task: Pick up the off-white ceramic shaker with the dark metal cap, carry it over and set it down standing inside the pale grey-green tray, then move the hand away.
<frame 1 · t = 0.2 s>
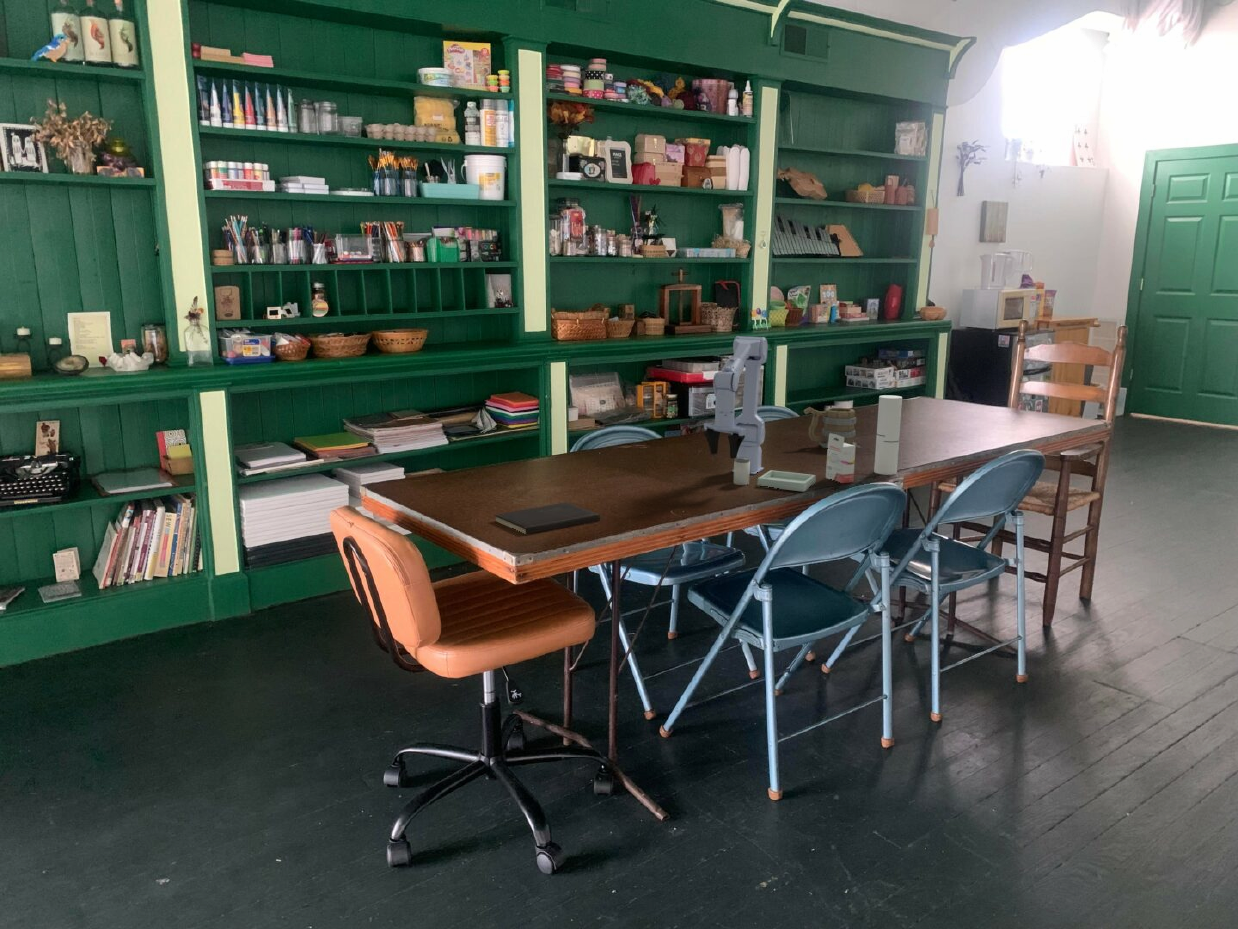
hand: (723, 455, 283), 10 cm above the table, tool pointing down, fingers open, 7 cm apart
ink cartridge box: (839, 480, 296), on the table
tankard: (828, 447, 349), on the table
cylindrical container: (885, 472, 307), on the table
hardcover book: (547, 523, 248), on the table
shaker: (741, 483, 291), on the table
tray: (786, 484, 290), on the table
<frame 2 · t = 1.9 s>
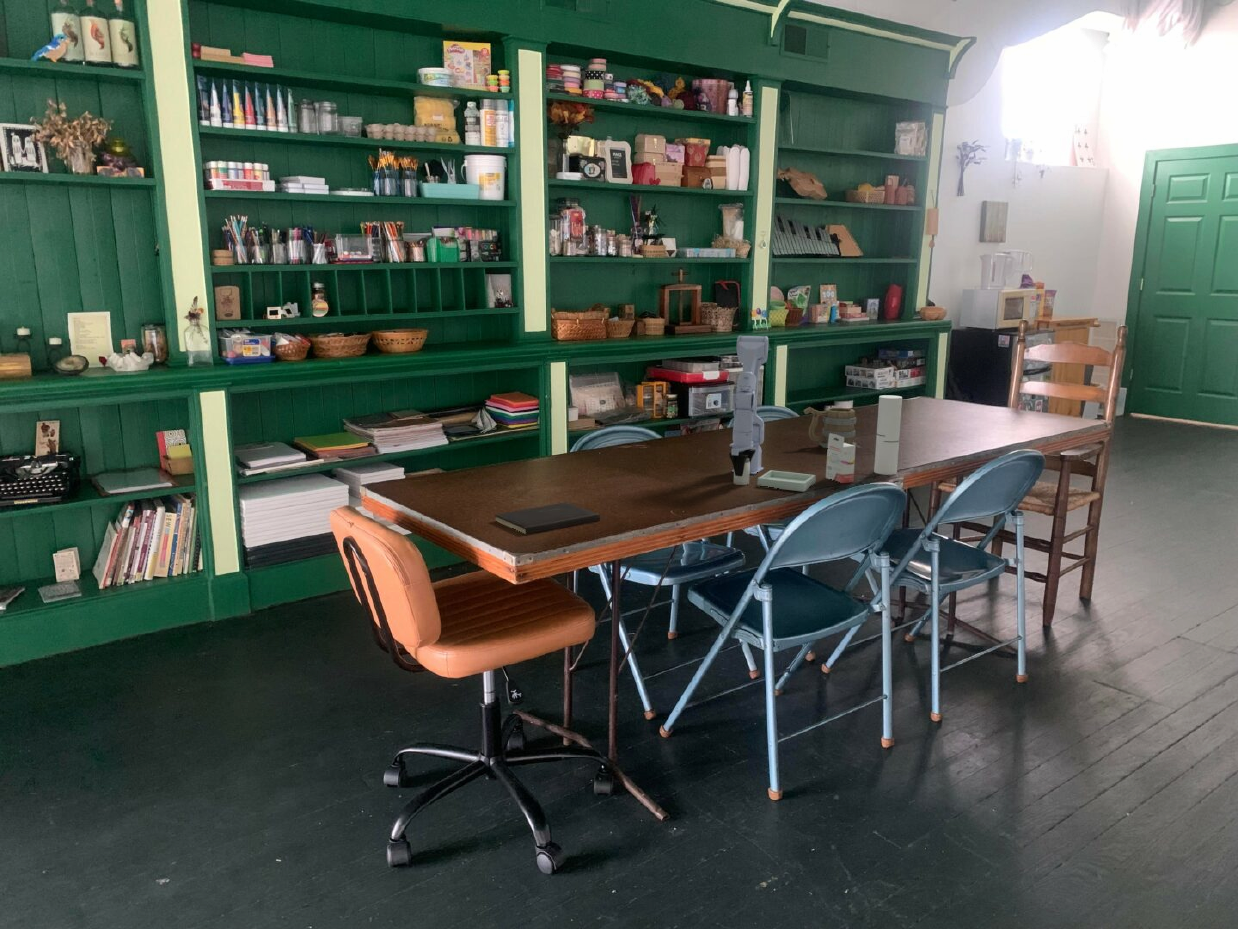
hand: (741, 474, 290), 3 cm above the table, tool pointing down, fingers closed on shaker, 5 cm apart
shaker: (741, 483, 291), on the table, touching gripper
everything else where it was.
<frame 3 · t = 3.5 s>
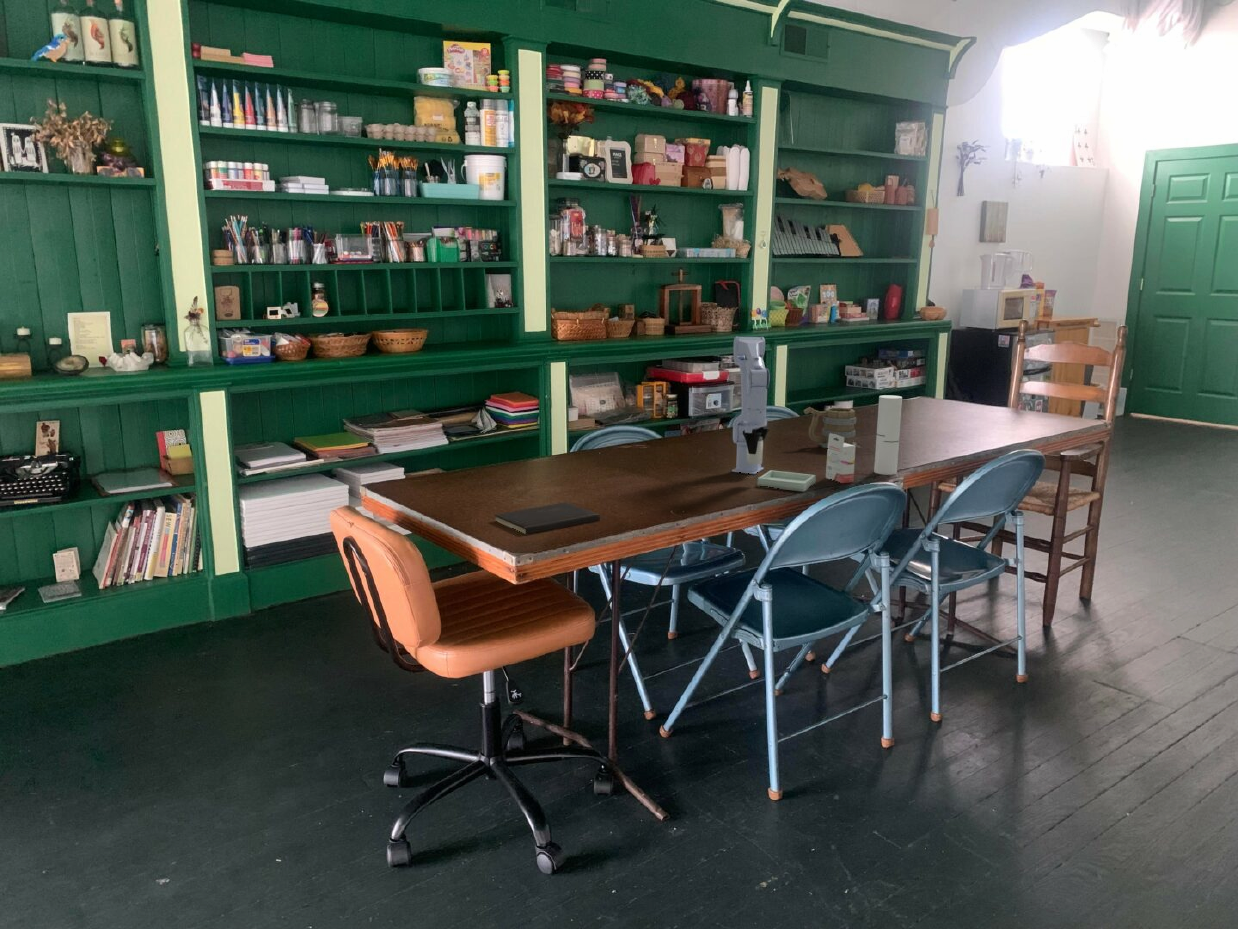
hand: (755, 452, 288), 10 cm above the table, tool pointing down, fingers closed on shaker, 5 cm apart
shaker: (754, 462, 289), point 7 cm above the table, touching gripper
everything else where it was.
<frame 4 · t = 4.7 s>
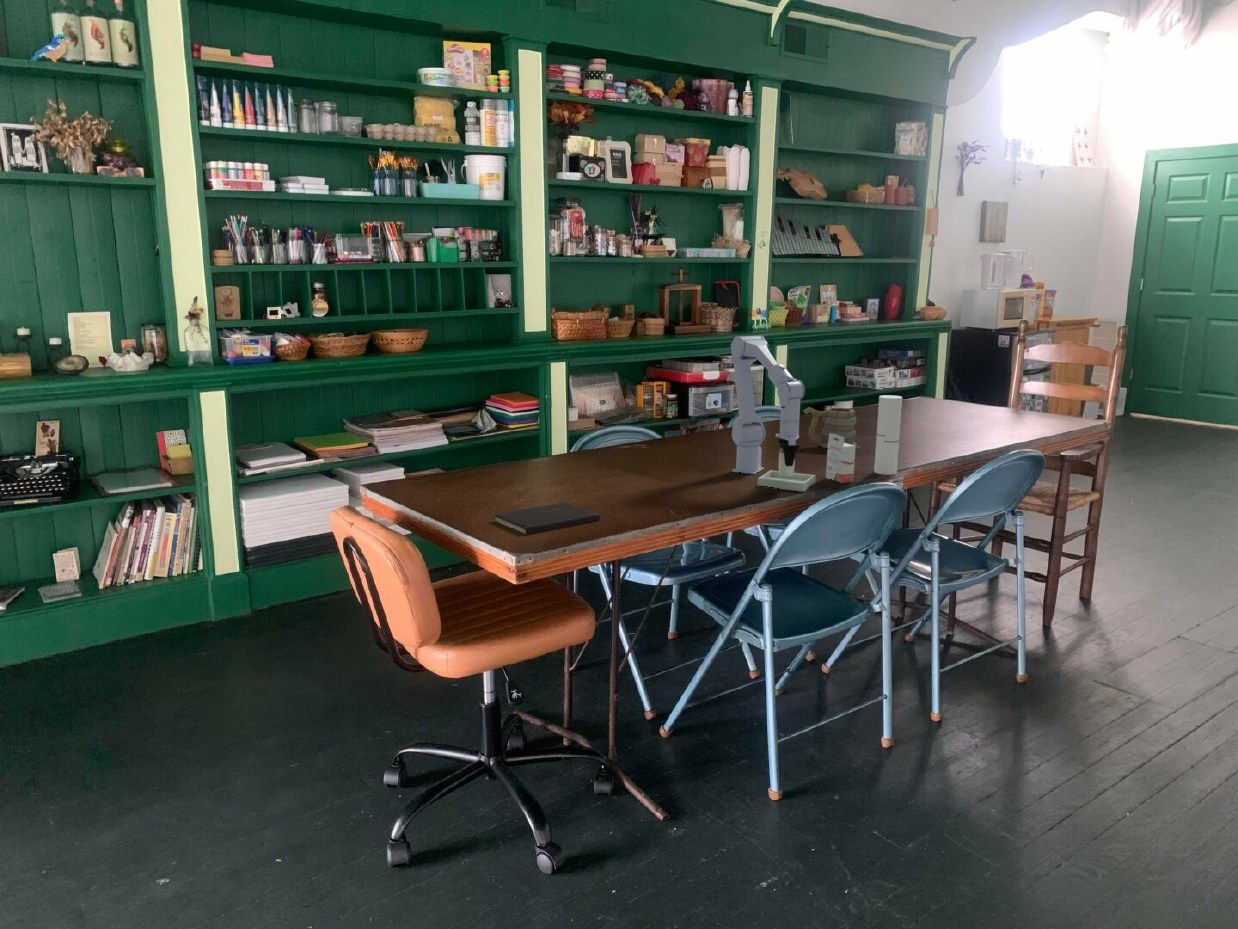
hand: (787, 464, 288), 7 cm above the table, tool pointing down, fingers closed on shaker, 5 cm apart
shaker: (786, 474, 289), point 3 cm above the table, touching gripper
everything else where it was.
when the fingers open (5 cm above the table, at t = 5.4 s): shaker drops 2 cm, resting on tray.
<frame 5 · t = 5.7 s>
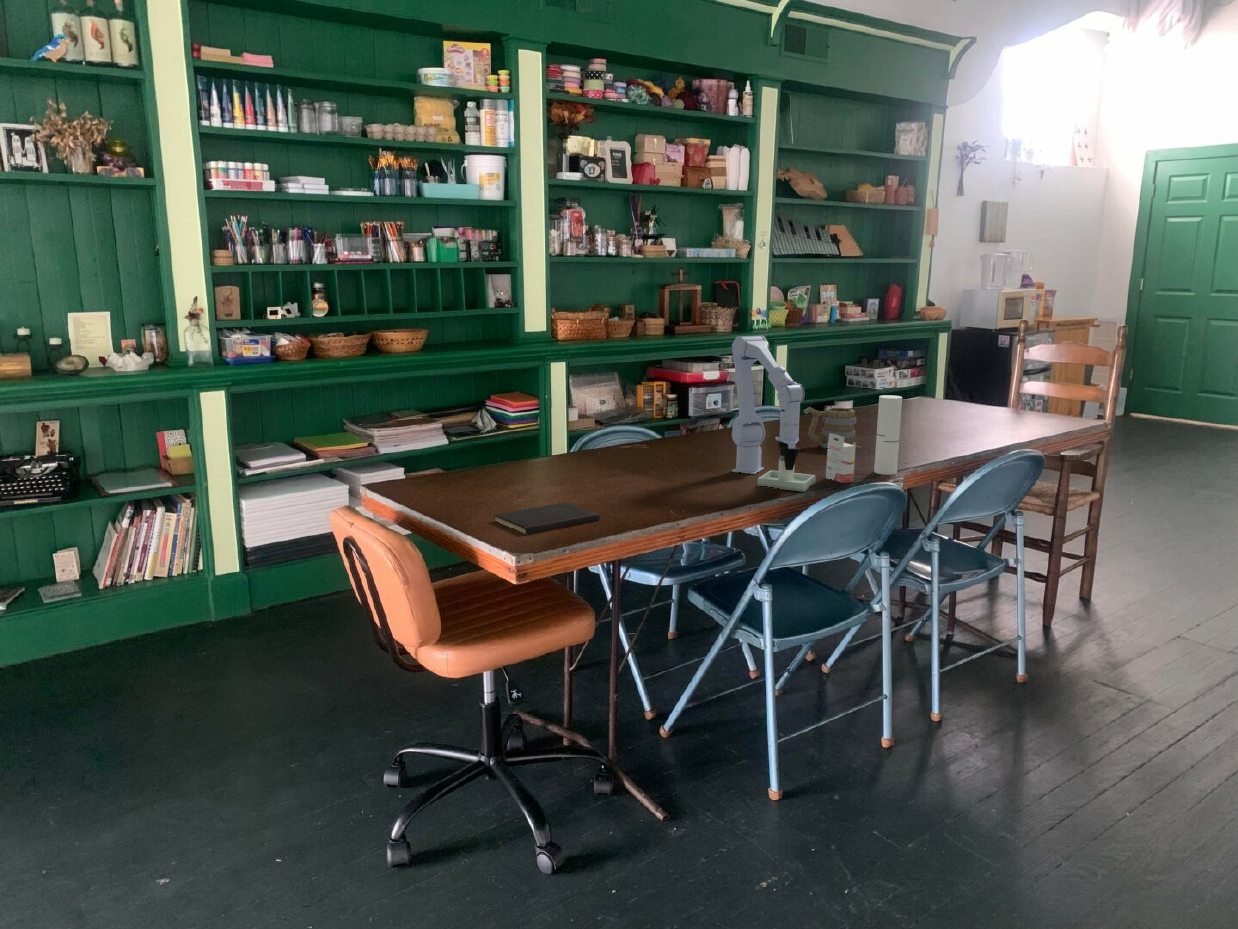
hand: (787, 467, 288), 6 cm above the table, tool pointing down, fingers open, 7 cm apart
shaker: (785, 482, 289), point 1 cm above the table, touching tray
everything else where it was.
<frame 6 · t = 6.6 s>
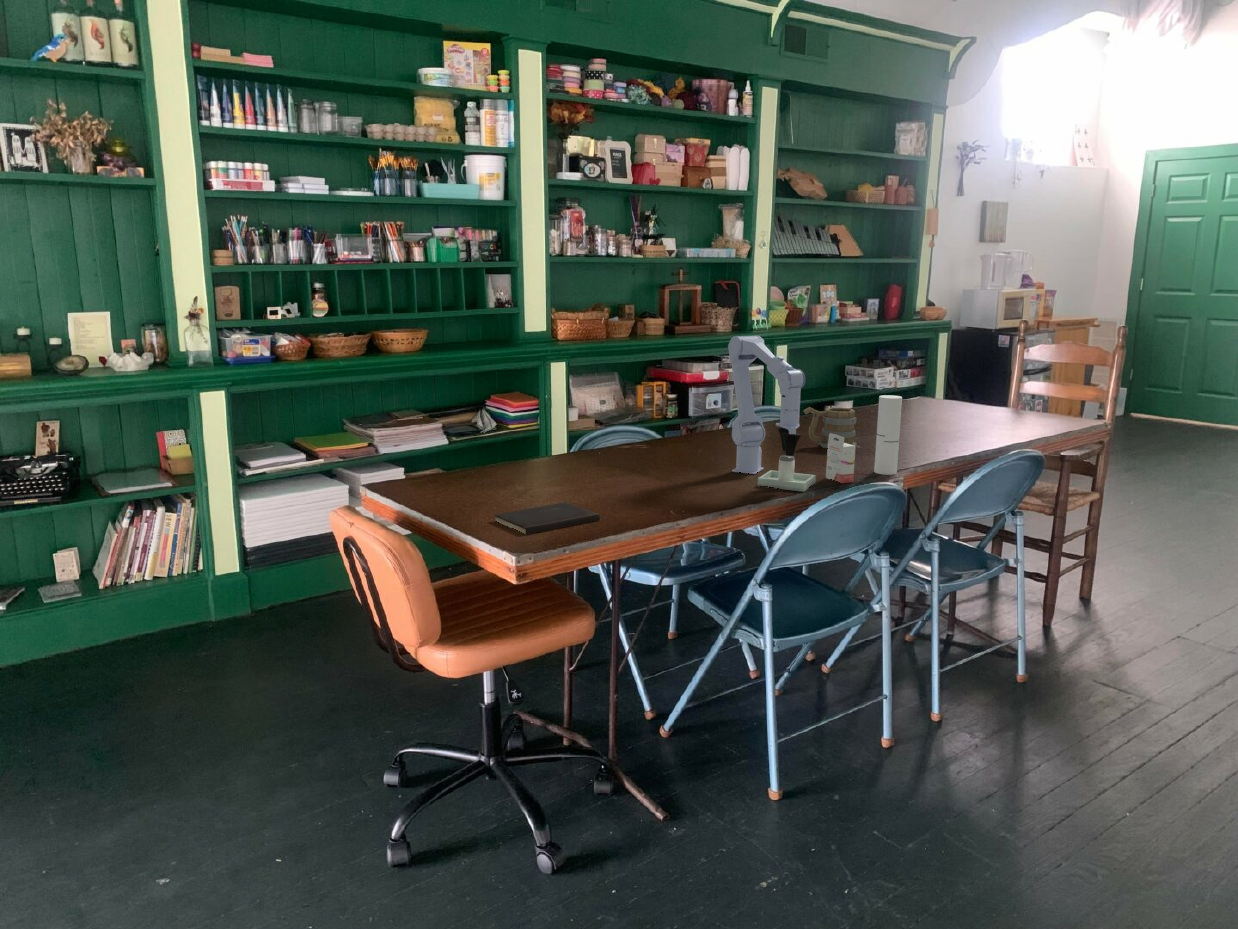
hand: (787, 453, 288), 10 cm above the table, tool pointing down, fingers open, 7 cm apart
nothing on the table moved.
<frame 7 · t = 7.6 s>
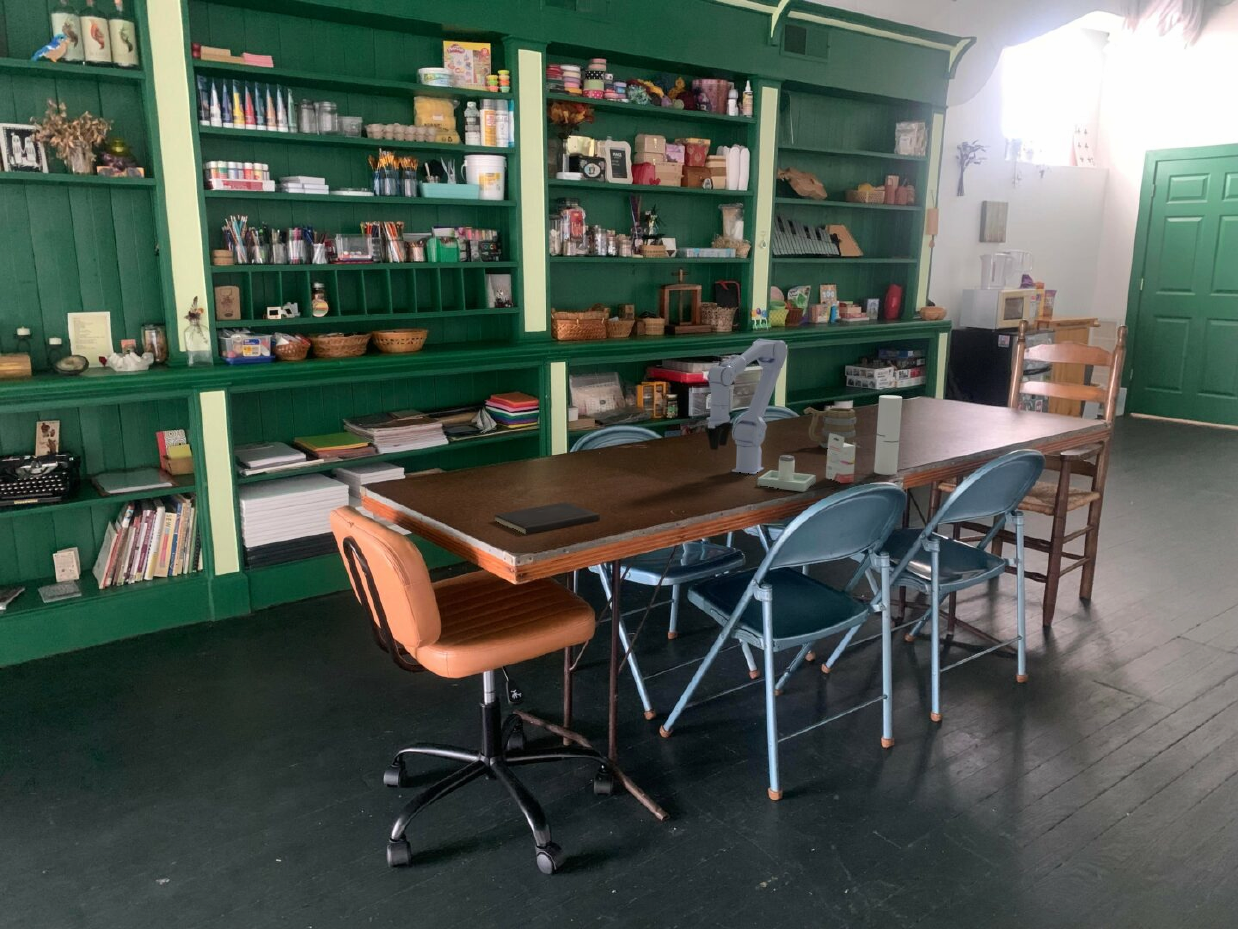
hand: (718, 447, 295), 10 cm above the table, tool pointing down, fingers open, 7 cm apart
nothing on the table moved.
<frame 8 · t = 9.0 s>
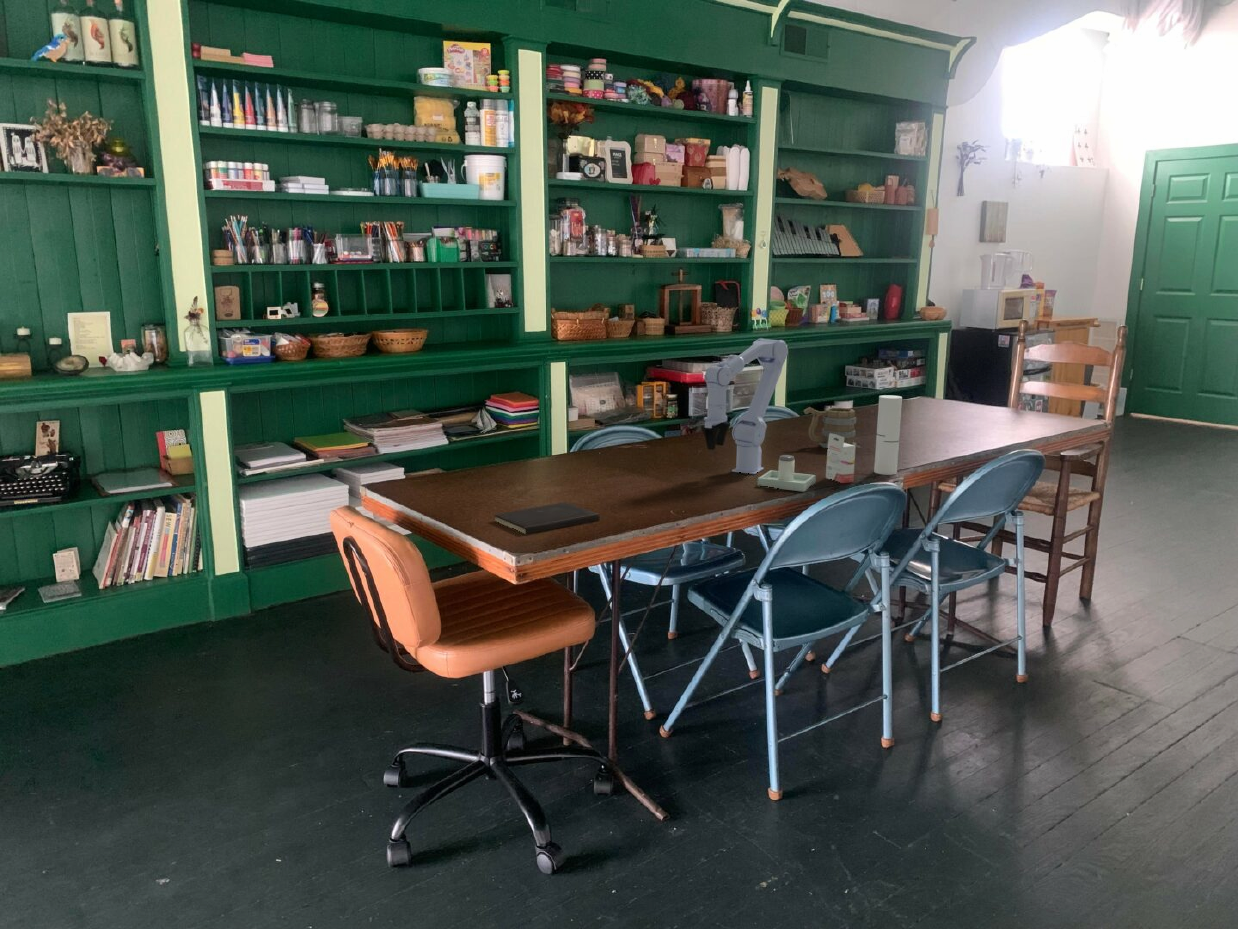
hand: (715, 447, 296), 10 cm above the table, tool pointing down, fingers open, 7 cm apart
nothing on the table moved.
at the end: shaker inside the target area on the tray (0.3 cm from its centre), point 0.8 cm above the tray's base; shaker tilted 1°; the gripper is holding nothing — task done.
